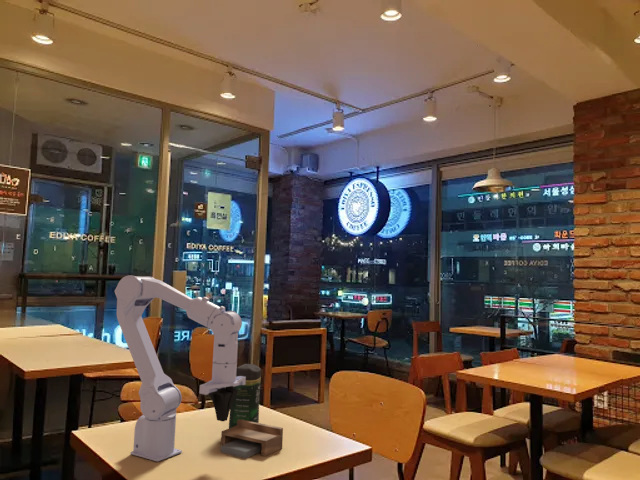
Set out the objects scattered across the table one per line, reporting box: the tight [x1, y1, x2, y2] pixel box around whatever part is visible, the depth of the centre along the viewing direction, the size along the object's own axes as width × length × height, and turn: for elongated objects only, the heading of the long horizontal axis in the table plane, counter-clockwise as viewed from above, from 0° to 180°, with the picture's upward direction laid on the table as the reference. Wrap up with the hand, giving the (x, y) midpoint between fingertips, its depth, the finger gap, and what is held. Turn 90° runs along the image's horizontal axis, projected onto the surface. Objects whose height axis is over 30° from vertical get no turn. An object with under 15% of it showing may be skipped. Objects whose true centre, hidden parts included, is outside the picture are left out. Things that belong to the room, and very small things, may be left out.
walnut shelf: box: [220, 419, 284, 457], centre depth 127 cm, size 14×8×5 cm, turn 61°
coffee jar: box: [228, 363, 262, 429], centre depth 141 cm, size 10×8×19 cm
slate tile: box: [220, 439, 262, 459], centre depth 124 cm, size 8×8×2 cm
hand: (221, 420), depth 117 cm, fingers closed
